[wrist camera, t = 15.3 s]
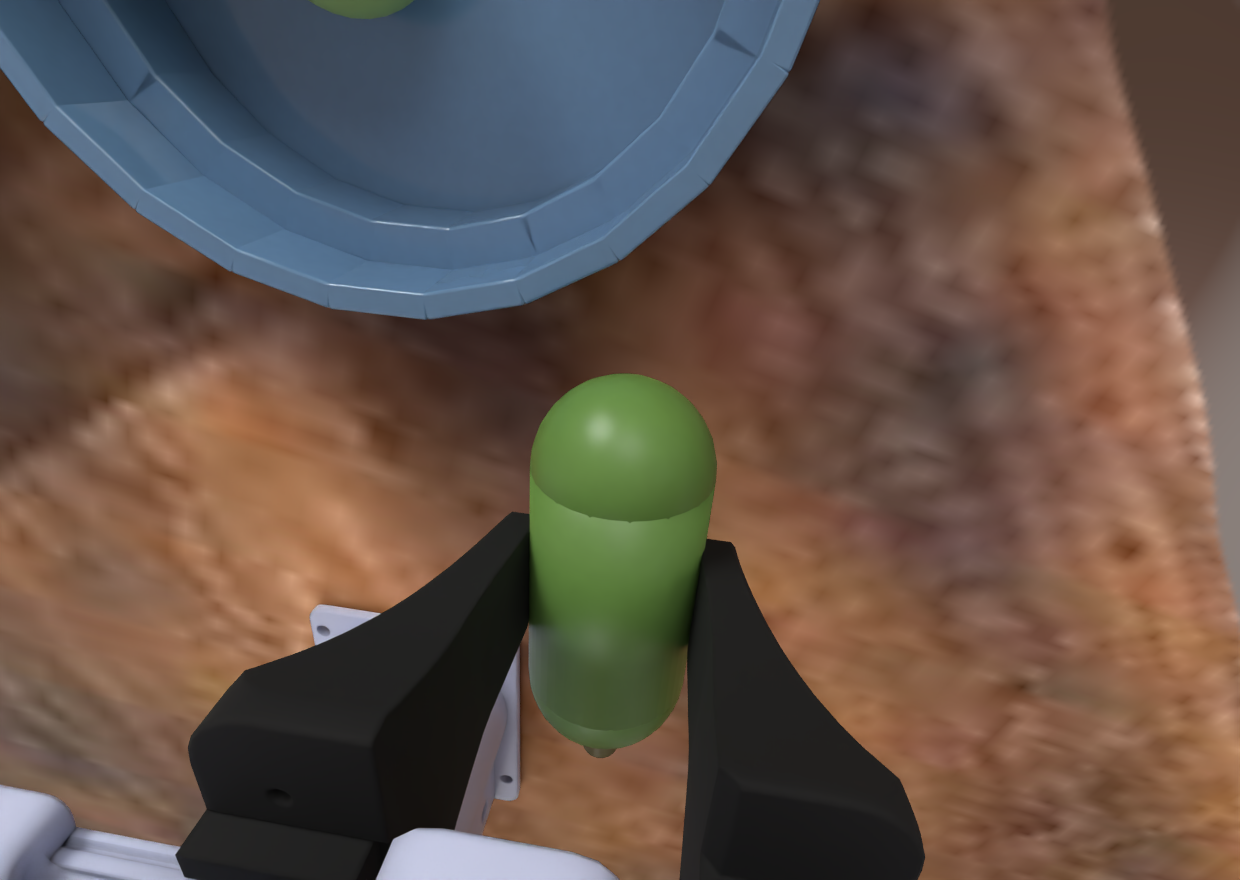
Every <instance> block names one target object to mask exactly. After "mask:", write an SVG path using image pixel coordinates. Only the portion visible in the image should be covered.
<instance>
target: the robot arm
mask: <svg viewBox="0 0 1240 880" xmlns="http://www.w3.org/2000/svg"><path fill="white" fill-rule="evenodd" d="M529 536H530V514H525V513H518V512H511V513H510V514H508V515H507V516H506V517H505V518H504V519H503V520H502V521H501V522H500V523H498V524H497V525H496V526H495V527H494V528H493V529H492V530H491V531H490V532H489V533H488V534H487V535H486V536H485V537H483V538H482V539H481V540H480V541H479V542H478V543H477V544H476V545H475V546H473V547H472V548H471V549H470V550H469V551H468V552H466V553H465V554H464V555H463V556H462V557H461V558H459V559H458V560H457V561H456V562H455V563H454V564H452V565H451V566H450V567H449V568H447V569H446V570H445V571H443V572H442V573H441V574H439V575H438V576H437V577H436V578H434V579H433V580H432V581H430V582H429V583H428V584H426V585H425V586H424V587H422V588H421V589H419V590H418V591H417V592H415V593H414V594H412V595H411V596H409V597H408V598H406V599H405V600H403V601H402V602H400V603H398V604H397V605H395V606H394V607H392V608H390V609H389V610H387V611H385V612H383V613H375V612H369V611H363V610H356V609H350V608H343V607H337V606H331V605H318V606H316V607H315V608H314V610H313V611H312V612H311V614H310V622H311V627H312V632H313V637H314V642H315V646H313V647H311V648H308V649H306V650H303V651H301V652H298V653H295V654H293V655H290V656H287V657H284V658H281V659H278V660H275V661H272V662H269V663H266V664H263V665H261V666H258V667H255V668H251V669H248V670H245V671H244V672H243V673H242V674H241V676H240V677H239V678H238V679H237V680H236V681H235V682H234V683H233V684H232V685H231V686H230V687H229V688H228V690H227V691H226V692H225V693H224V695H223V696H222V697H221V698H220V700H219V701H218V702H217V703H216V705H215V706H214V707H213V709H212V710H211V711H210V712H209V714H208V715H207V716H206V717H205V719H204V720H203V721H202V723H201V724H200V725H199V726H198V728H197V729H196V730H195V731H194V733H193V734H192V735H191V738H190V741H189V745H188V752H189V757H190V762H191V766H192V769H193V772H194V774H195V777H196V780H197V783H198V785H199V788H200V791H201V794H202V797H203V799H204V802H205V805H206V808H207V810H206V811H205V813H204V814H203V816H202V817H201V819H200V820H199V821H198V823H197V824H196V826H195V827H194V829H193V830H192V831H191V833H190V834H189V836H188V837H187V839H186V840H185V841H184V843H183V844H182V846H181V847H178V846H173V845H168V844H163V843H157V842H152V841H147V840H142V839H136V838H131V837H126V836H121V835H116V834H110V833H105V832H100V831H95V830H89V829H84V828H79V827H76V824H75V820H74V817H73V814H72V812H71V810H70V808H69V807H68V806H67V805H66V804H65V803H64V802H63V801H62V800H60V799H58V798H57V797H55V796H52V795H49V794H46V793H42V792H36V791H31V790H25V789H20V788H15V787H9V786H4V785H0V880H619V878H618V877H617V876H616V875H615V874H614V873H612V872H611V871H610V870H609V869H607V868H606V867H605V866H604V865H602V864H601V863H600V862H599V861H597V860H594V859H591V858H588V857H585V856H582V855H580V854H577V853H574V852H570V851H565V850H559V849H554V848H548V847H543V846H537V845H532V844H526V843H521V842H515V841H510V840H504V839H499V838H493V837H488V836H483V835H482V834H483V830H484V827H485V824H486V821H487V818H488V815H489V812H490V809H491V806H492V802H493V799H494V798H495V799H501V800H506V801H512V800H515V799H517V798H518V795H519V791H520V643H521V641H522V638H523V636H524V634H525V631H526V629H527V626H528V622H529ZM687 676H688V725H689V765H688V780H687V793H686V806H685V819H684V831H683V844H682V856H681V868H680V880H917V879H918V877H919V875H920V873H921V871H922V868H923V864H924V860H925V854H924V849H923V843H922V838H921V834H920V831H919V827H918V824H917V821H916V818H915V816H914V813H913V810H912V808H911V805H910V802H909V800H908V798H907V795H906V793H905V790H904V788H903V786H902V783H901V781H900V779H899V778H898V777H897V776H895V775H894V774H893V773H892V772H891V771H890V770H889V769H887V768H886V767H885V766H884V765H883V764H882V763H881V762H879V761H878V760H877V759H876V758H875V757H874V756H873V755H871V754H870V753H869V752H868V751H867V750H866V749H864V748H863V747H862V746H861V745H860V744H859V743H858V742H857V741H856V740H855V739H854V738H853V737H852V736H851V735H850V734H849V733H848V732H847V731H846V730H845V729H844V728H843V727H842V726H841V725H840V724H839V723H838V722H837V720H836V719H835V718H834V717H833V716H832V715H831V714H830V712H829V711H828V710H827V709H826V708H825V707H824V705H823V704H822V703H821V702H820V701H819V700H818V699H817V697H816V696H815V695H814V694H813V693H812V691H811V690H810V689H809V687H808V686H807V685H806V683H805V682H804V681H803V679H802V678H801V677H800V675H799V674H798V672H797V671H796V670H795V668H794V667H793V665H792V664H791V662H790V661H789V660H788V658H787V656H786V655H785V653H784V652H783V650H782V649H781V647H780V645H779V644H778V642H777V640H776V639H775V637H774V635H773V633H772V632H771V630H770V628H769V626H768V625H767V623H766V621H765V619H764V617H763V615H762V613H761V611H760V609H759V607H758V605H757V603H756V601H755V599H754V597H753V595H752V592H751V590H750V588H749V586H748V583H747V581H746V578H745V576H744V573H743V571H742V568H741V565H740V562H739V559H738V556H737V553H736V549H735V547H734V545H733V544H732V543H731V542H726V541H718V540H711V539H706V545H705V550H704V552H703V554H702V560H701V566H700V572H699V578H698V585H697V591H696V597H695V603H694V609H693V616H692V622H691V628H690V634H689V641H688V648H687Z"/></svg>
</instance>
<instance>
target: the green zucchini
mask: <svg viewBox="0 0 1240 880" xmlns="http://www.w3.org/2000/svg"><path fill="white" fill-rule="evenodd" d="M716 472H717V460H716V454H715V449H714V443H713V438H712V436H711V434H710V431H709V429H708V427H707V425H706V423H705V421H704V419H703V417H702V416H701V414H700V413H699V412H698V410H697V409H696V408H695V407H694V405H693V404H692V403H691V402H690V401H689V400H688V399H687V398H686V397H685V396H683V395H682V394H681V393H679V392H678V391H677V390H676V389H674V388H673V387H671V386H669V385H667V384H665V383H663V382H661V381H658V380H655V379H653V378H650V377H647V376H643V375H637V374H628V373H620V374H612V375H606V376H601V377H597V378H594V379H590V380H588V381H586V382H584V383H582V384H580V385H578V386H577V387H575V388H573V389H571V390H570V391H569V392H567V393H566V394H565V395H564V396H563V397H561V398H560V399H559V400H558V401H557V402H556V403H555V404H554V405H553V406H552V408H551V409H550V410H549V412H548V413H547V415H546V416H545V418H544V419H543V421H542V422H541V424H540V426H539V429H538V432H537V434H536V437H535V440H534V443H533V447H532V452H531V460H530V536H529V677H530V684H531V689H532V692H533V695H534V698H535V701H536V703H537V705H538V707H539V709H540V710H541V712H542V714H543V715H544V717H545V719H546V720H547V721H548V722H549V723H550V724H551V725H552V726H553V727H554V728H555V729H556V730H557V731H558V732H559V733H561V734H562V735H563V736H565V737H566V738H568V739H569V740H571V741H573V742H576V743H578V744H580V745H583V746H584V748H585V750H586V751H587V752H588V753H589V754H590V755H591V756H593V757H597V758H605V757H608V756H610V755H611V754H613V753H614V752H615V750H616V749H617V748H622V747H626V746H629V745H633V744H635V743H637V742H639V741H641V740H643V739H645V738H646V737H648V736H649V735H650V734H652V733H653V732H654V731H656V730H657V729H658V728H659V727H660V726H661V725H662V724H663V723H664V721H665V720H666V719H667V718H668V716H669V715H670V714H671V712H672V711H673V709H674V707H675V705H676V703H677V701H678V699H679V696H680V692H681V689H682V686H683V681H684V674H685V668H686V662H687V648H688V641H689V634H690V628H691V622H692V616H693V609H694V603H695V597H696V591H697V585H698V578H699V572H700V566H701V560H702V554H703V552H704V550H705V545H706V539H707V533H708V526H709V520H710V514H711V508H712V502H713V496H714V489H715V483H716Z"/></svg>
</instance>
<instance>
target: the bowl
mask: <svg viewBox="0 0 1240 880" xmlns="http://www.w3.org/2000/svg"><path fill="white" fill-rule="evenodd" d="M819 2H820V0H414V1H413V2H411V3H410V4H409V5H407V6H406V7H405V8H403V9H402V10H400V11H397V12H395V13H393V14H390V15H388V16H385V17H379V18H373V19H356V18H349V17H345V16H341V15H337V14H334V13H331V12H329V11H327V10H325V9H323V8H321V7H319V6H317V5H315V4H313V3H312V2H310V1H308V0H0V69H1V70H2V71H3V72H4V74H5V75H6V76H7V78H8V79H9V80H10V82H11V83H12V84H13V86H14V87H15V88H16V90H17V91H18V92H19V94H20V95H21V96H22V97H23V99H24V100H25V101H26V103H27V104H28V105H29V107H30V108H31V109H32V111H33V112H34V113H35V115H36V116H37V117H38V119H39V120H41V121H43V122H44V125H45V126H46V127H47V128H48V129H49V130H50V131H51V132H52V133H53V134H54V135H55V136H56V137H57V138H58V139H60V140H61V141H62V142H63V143H64V144H65V145H66V146H67V147H68V148H69V149H70V150H71V151H72V152H73V153H74V154H75V155H77V156H78V157H79V158H80V159H81V160H82V161H83V162H84V163H85V164H86V165H87V166H88V167H89V168H90V169H91V170H93V171H94V172H95V173H96V174H97V175H98V176H99V177H100V178H101V179H102V180H103V181H104V182H105V183H106V184H107V185H108V186H110V187H111V188H112V189H113V190H114V191H115V192H116V193H117V194H118V195H119V196H120V197H121V198H122V199H123V200H124V201H125V202H127V203H128V204H129V205H130V206H131V207H132V208H134V209H136V212H137V213H139V214H140V215H142V216H144V217H145V218H147V219H148V220H150V221H151V222H153V223H155V224H156V225H158V226H159V227H161V228H162V229H164V230H166V231H167V232H169V233H170V234H172V235H173V236H175V237H177V238H178V239H180V240H181V241H183V242H184V243H186V244H187V245H189V246H191V247H192V248H194V249H195V250H197V251H198V252H200V253H202V254H203V255H205V256H206V257H208V258H209V259H211V260H213V261H214V262H216V263H217V264H219V265H220V266H222V267H223V268H225V269H227V270H228V271H231V272H232V271H233V272H234V273H235V274H238V275H241V276H244V277H246V278H249V279H252V280H254V281H257V282H260V283H262V284H265V285H268V286H270V287H273V288H276V289H278V290H281V291H284V292H286V293H289V294H292V295H295V296H297V297H300V298H303V299H305V300H308V301H311V302H313V303H316V304H319V305H321V306H324V307H330V308H331V309H336V310H345V311H354V312H362V313H371V314H380V315H388V316H397V317H405V318H414V319H423V320H426V319H437V318H444V317H451V316H457V315H464V314H470V313H477V312H483V311H490V310H496V309H503V308H510V307H516V306H522V305H524V304H529V303H531V302H533V301H536V300H538V299H540V298H542V297H544V296H546V295H549V294H551V293H553V292H555V291H557V290H560V289H562V288H564V287H566V286H568V285H570V284H573V283H575V282H577V281H579V280H581V279H584V278H586V277H588V276H590V275H592V274H594V273H597V272H599V271H601V270H603V269H605V268H608V267H610V266H612V265H614V264H616V263H618V261H619V260H620V261H621V260H623V259H624V258H625V257H627V256H628V255H629V254H630V253H631V252H632V251H634V250H635V249H636V248H637V247H638V246H640V245H641V244H642V243H643V242H644V241H645V240H647V239H648V238H649V237H650V236H651V235H653V234H654V233H655V232H656V231H657V230H658V229H660V228H661V227H662V226H663V225H664V224H666V223H667V222H668V221H669V220H670V219H672V218H673V217H674V216H675V215H676V214H677V213H679V212H680V211H681V210H682V209H683V208H685V207H686V206H687V205H688V204H689V203H690V202H692V201H693V200H694V199H695V198H696V197H698V196H699V195H700V194H701V193H702V192H704V191H705V190H706V189H707V188H708V186H709V185H711V184H712V182H713V181H714V180H715V178H716V177H717V175H718V174H719V173H720V171H721V170H722V168H723V167H724V166H725V164H726V163H727V161H728V160H729V159H730V157H731V156H732V154H733V153H734V152H735V150H736V149H737V147H738V146H739V145H740V143H741V142H742V140H743V139H744V138H745V136H746V135H747V133H748V132H749V131H750V129H751V128H752V126H753V125H754V123H755V122H756V121H757V119H758V118H759V116H760V115H761V114H762V112H763V111H764V109H765V108H766V107H767V105H768V104H769V102H770V101H771V100H772V98H773V97H774V95H775V94H776V93H777V91H778V90H779V88H780V87H781V86H782V84H783V83H784V81H785V80H786V79H787V77H788V75H789V74H788V72H790V71H791V70H792V67H793V65H794V63H795V60H796V58H797V55H798V53H799V50H800V48H801V46H802V43H803V41H804V38H805V36H806V34H807V31H808V29H809V26H810V24H811V21H812V19H813V17H814V14H815V12H816V9H817V7H818V5H819Z"/></svg>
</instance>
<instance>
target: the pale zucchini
mask: <svg viewBox="0 0 1240 880" xmlns="http://www.w3.org/2000/svg"><path fill="white" fill-rule="evenodd" d="M308 1H310V2H312V3H313V4H315V5H317V6H319V7H321V8H323V9H325V10H327V11H329V12H331V13H334V14H337V15H341V16H345V17H349V18H356V19H373V18H379V17H385V16H388V15H390V14H393V13H395V12H397V11H400V10H402V9H403V8H405V7H406V6H407V5H409V4H410V3H411V2H413V1H414V0H308Z"/></svg>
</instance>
